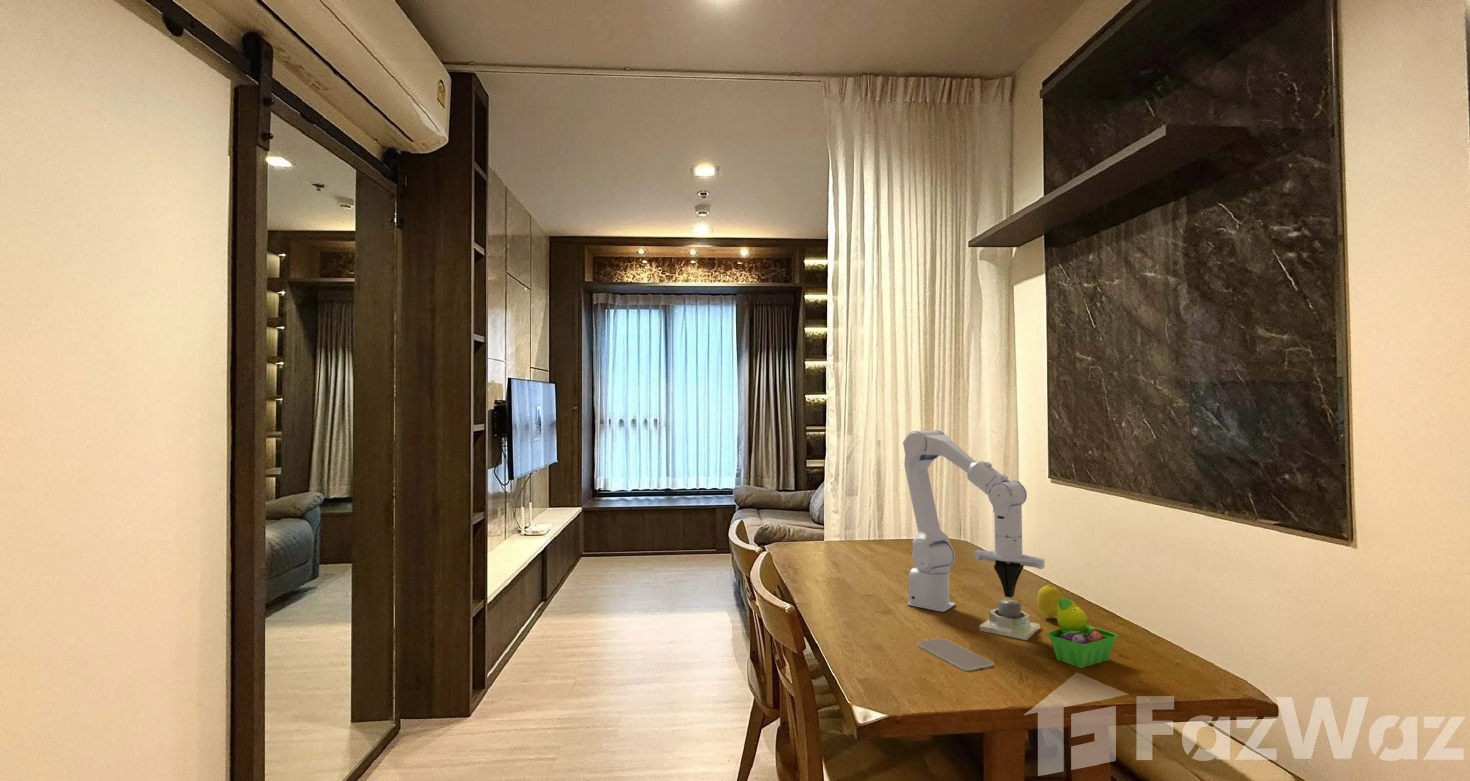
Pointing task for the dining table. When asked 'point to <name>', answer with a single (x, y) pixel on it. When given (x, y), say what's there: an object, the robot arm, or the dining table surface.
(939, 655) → the smartphone
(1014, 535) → the robot arm
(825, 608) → the dining table surface
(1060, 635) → the fruit basket
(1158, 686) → the dining table surface
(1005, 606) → the cylindrical peg
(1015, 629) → the octagonal socket plate
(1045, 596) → the lemon
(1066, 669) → the dining table surface
